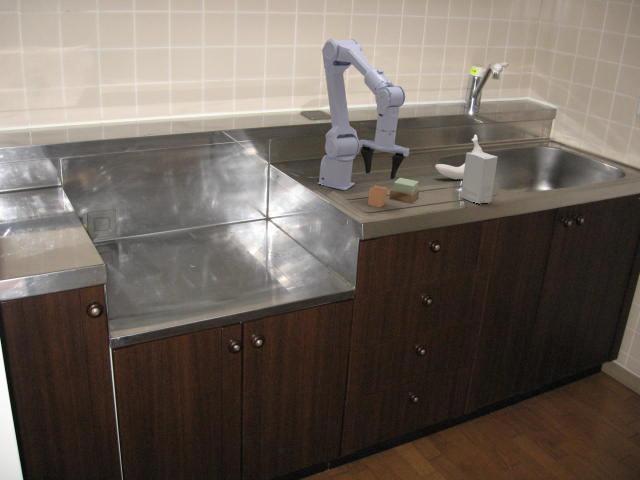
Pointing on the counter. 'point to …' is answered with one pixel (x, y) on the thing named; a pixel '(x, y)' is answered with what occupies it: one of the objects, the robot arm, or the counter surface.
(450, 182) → the counter surface
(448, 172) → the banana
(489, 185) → the skincare box
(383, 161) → the counter surface
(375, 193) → the terracotta block
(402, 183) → the sage block
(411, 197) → the walnut slab
